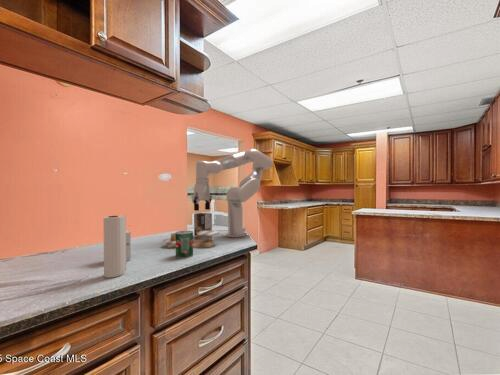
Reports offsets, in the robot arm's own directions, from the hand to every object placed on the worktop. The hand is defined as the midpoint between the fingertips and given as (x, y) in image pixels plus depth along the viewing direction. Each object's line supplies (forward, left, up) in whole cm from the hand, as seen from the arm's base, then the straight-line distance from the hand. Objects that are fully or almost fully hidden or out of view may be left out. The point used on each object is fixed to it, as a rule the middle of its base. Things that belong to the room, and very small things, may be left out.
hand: (202, 210), depth 147 cm
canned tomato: (+30, +16, -18) cm, 39 cm away
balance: (+13, +4, -18) cm, 23 cm away
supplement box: (+50, -4, -18) cm, 53 cm away
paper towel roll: (+61, +12, -18) cm, 64 cm away
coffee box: (0, 0, -18) cm, 18 cm away
